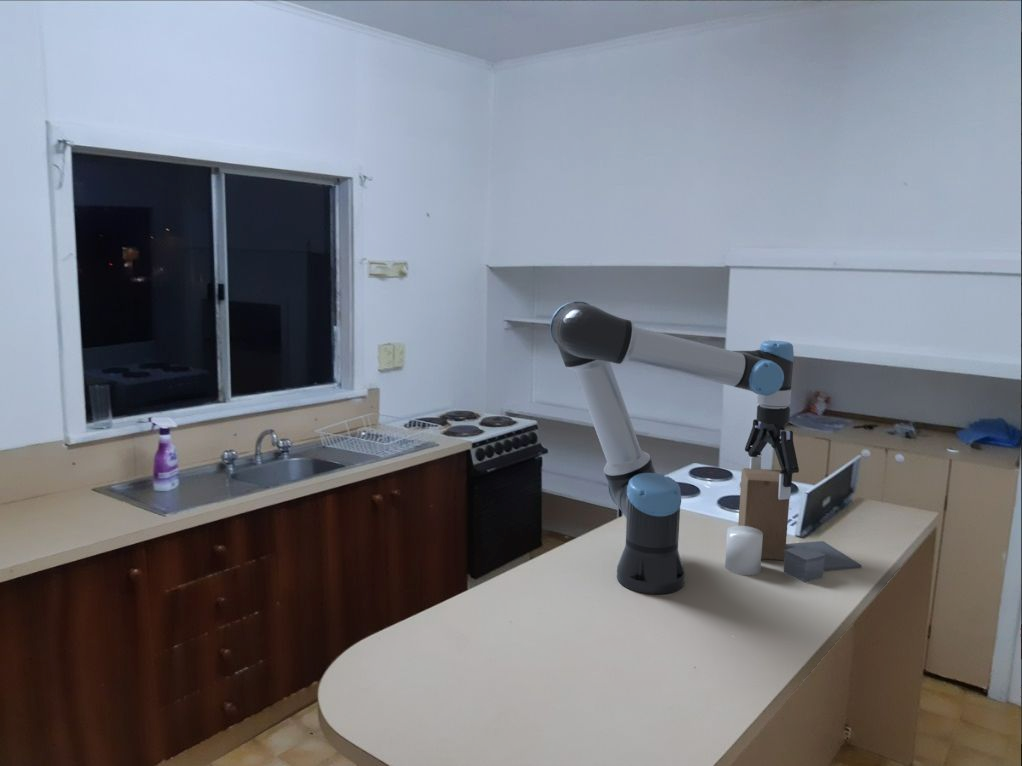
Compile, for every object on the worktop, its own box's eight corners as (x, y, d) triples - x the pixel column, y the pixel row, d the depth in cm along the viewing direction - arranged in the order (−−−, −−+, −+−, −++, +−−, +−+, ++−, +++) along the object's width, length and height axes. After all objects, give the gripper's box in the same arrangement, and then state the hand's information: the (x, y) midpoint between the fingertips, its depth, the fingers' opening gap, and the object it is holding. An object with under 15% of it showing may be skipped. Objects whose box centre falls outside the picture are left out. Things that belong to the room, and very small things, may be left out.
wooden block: (785, 561, 178) (791, 481, 175) (742, 558, 180) (747, 479, 176) (777, 545, 188) (783, 469, 185) (736, 542, 190) (741, 467, 186)
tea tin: (804, 583, 167) (806, 559, 166) (782, 572, 172) (784, 549, 171) (824, 577, 170) (826, 554, 169) (801, 567, 175) (803, 545, 174)
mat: (816, 571, 173) (816, 568, 173) (780, 546, 187) (780, 544, 187) (861, 567, 175) (861, 564, 175) (822, 543, 190) (823, 540, 189)
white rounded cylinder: (735, 576, 170) (737, 539, 168) (718, 562, 177) (721, 526, 176) (767, 573, 171) (769, 537, 170) (749, 559, 179) (751, 524, 177)
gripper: (818, 415, 166) (812, 505, 170) (760, 395, 190) (756, 474, 194) (788, 417, 165) (783, 508, 169) (733, 396, 189) (729, 476, 193)
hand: (768, 490), depth 181 cm, fingers open, 13 cm apart
